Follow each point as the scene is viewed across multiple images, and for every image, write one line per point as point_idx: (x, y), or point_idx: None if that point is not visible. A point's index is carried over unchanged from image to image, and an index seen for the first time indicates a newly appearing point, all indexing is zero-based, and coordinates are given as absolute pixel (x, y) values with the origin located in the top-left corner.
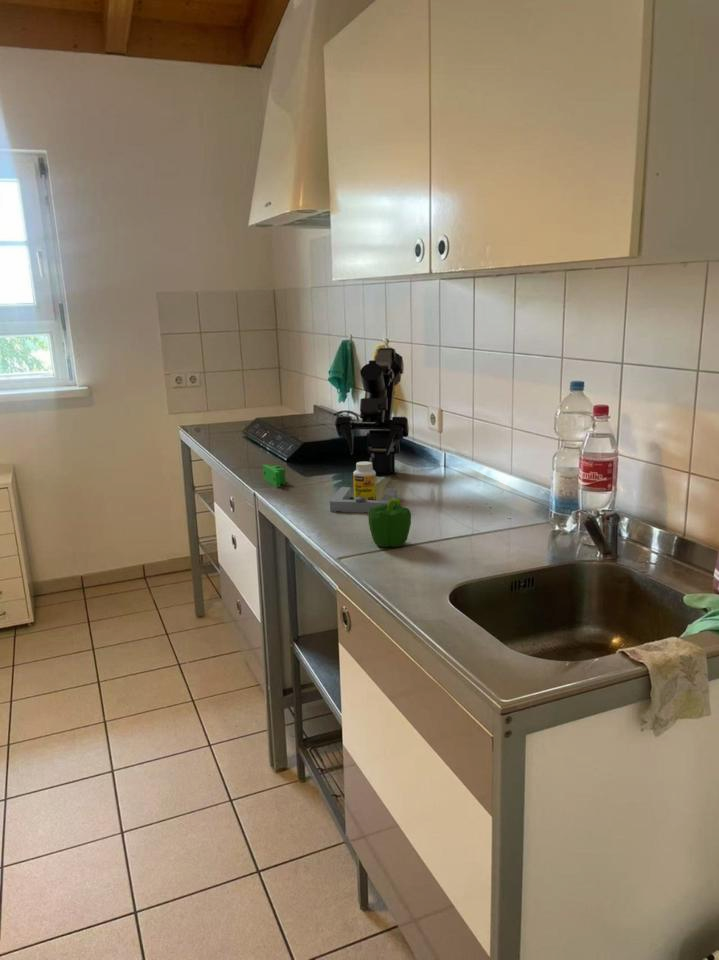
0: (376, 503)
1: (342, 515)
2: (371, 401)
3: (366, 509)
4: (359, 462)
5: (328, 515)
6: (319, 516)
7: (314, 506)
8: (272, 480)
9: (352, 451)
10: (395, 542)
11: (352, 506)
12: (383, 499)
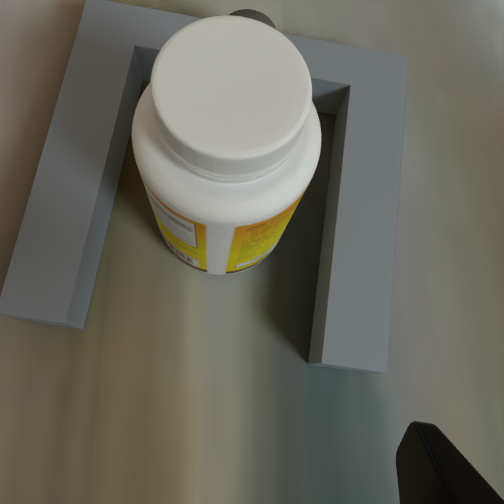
0: (162, 14)
1: (325, 29)
2: None
3: None
4: (282, 115)
5: (387, 35)
6: (424, 25)
7: (477, 180)
8: None
9: (408, 481)
10: None
11: None
12: (118, 65)
